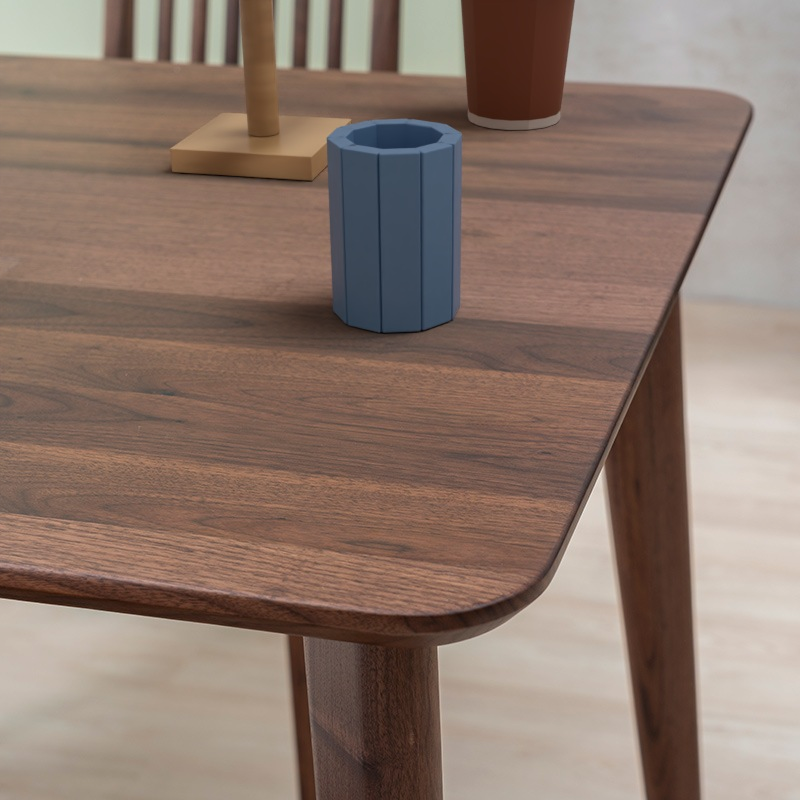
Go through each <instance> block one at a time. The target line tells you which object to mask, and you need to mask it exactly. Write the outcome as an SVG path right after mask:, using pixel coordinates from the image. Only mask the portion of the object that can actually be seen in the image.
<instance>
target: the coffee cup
mask: <svg viewBox="0 0 800 800" xmlns="http://www.w3.org/2000/svg"><path fill="white" fill-rule="evenodd" d="M575 2H576V0H460V7H461V8H460V9H461V21H462V36H463V37H462V39H463V53H464V55H463V56H464V69H465V83H466V84H465V85H466V98H467V100H466V101H467V118H468V121H469V122H470V123H472V124H474V125H476V126H479V127H484V128H488V129H491V130H493V129H494V130H504V131H505V130H506V131H526V130H527V131H528V130H535V129H536V130H537V129H542V128H543V129H544V128H547V127H550V126H553V125H554V126H555V125H556V124H557V123H558V122H559V121H561V110H562V104H563V95H564V87H565V80H566V72H567V64H568V58H569V57H568V56H569V50H570V49H569V48H570V41H571V34H572V33H571V32H572V27H573V26H572V25H573V17H574V12H575V11H574V10H575V4H576V3H575Z"/></svg>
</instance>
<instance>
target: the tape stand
mask: <svg viewBox="0 0 800 800" xmlns="http://www.w3.org/2000/svg"><path fill="white" fill-rule="evenodd" d="M238 3H239V5H238V6H239V19H240V33H241V48H242V64H243V79H244V80H243V81H244V95H245V109H246V111H245V112H246V113H237V112H221V113H219V114H218V115H216V116H214V118H212V119H211V120H209V121H208V122H207V123H204V124H203V125H202V126H201V127H199V128H197V130H194V131H193V132H192V133H191V134H189V135H187V136H186V137H184V138H183V139H181V140H180V141H179V142H177V143H176V144H175V145H173V146H172V147H170V148H169V154H170V163H171V172H172V173H180V174H181V173H184V174H195V175H196V174H197V175H213V176H228V177H229V176H230V177H231V176H232V177H245V178H246V177H247V178H260V179H261V178H262V179H276V180H277V179H278V180H279V179H280V180H294V181H311V182H312V181H313V180H315V179H316V178H317V177H318V176H319V175H320V174H321V173H322V172H323V171H324V170H325V168H327V167H328V163H327V137H328V136H329V135H330V134H331V133H332V132H333V131H334V130H335V129H336V128H338V127H341V126H345V125H350V124H352V119H351V118H340V117H320V116H319V117H318V116H300V115H299V116H298V115H280V110H279V91H278V78H277V77H278V73H277V59H276V58H277V55H276V54H277V53H276V37H275V36H276V35H275V20H274V19H275V18H274V0H238Z"/></svg>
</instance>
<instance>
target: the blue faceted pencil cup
mask: <svg viewBox="0 0 800 800" xmlns="http://www.w3.org/2000/svg"><path fill="white" fill-rule="evenodd" d="M327 163H328V165H327V185H328V186H327V188H328V189H327V190H328V212H329V213H328V215H329V236H330V238H329V241H330V242H329V243H330V268H331V270H330V271H331V293H332V296H331V297H332V311H333V313H335V314H336V316H337V317H338V318H339V319H340V320H341V321H342V322H343V323H344V324H345V325H347V326H350V327H354V328H358V329H362V330H367V331H371V332H375V333H383V334H385V333H389V334H390V333H411V332H421V331H426V330H429V329H432V328H434V327H437V326H440V325H443V324H446V323H448V322H451V321H452V320H454V319H455V316H456V314H457V312H458V310H459V309H460V306H461V277H462V276H461V275H462V273H461V267H462V266H461V264H462V263H461V262H462V260H461V259H462V188H463V187H462V185H463V184H462V182H463V134H462V132H461V131H459V130H457V129H455V128H453V127H451V126H450V125H448V124H446V123H442V122H435V121H428V120H421V119H414V118H411V119H409V118H386V119H385V118H383V119H371V120H369V119H368V120H364V121H360V122H354V123H351V124H350V125H345V126H341V127H338V128H336V129H335V130H334V131H333V132H332V133H331V134H330V135H329V136H328V137H327Z"/></svg>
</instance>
